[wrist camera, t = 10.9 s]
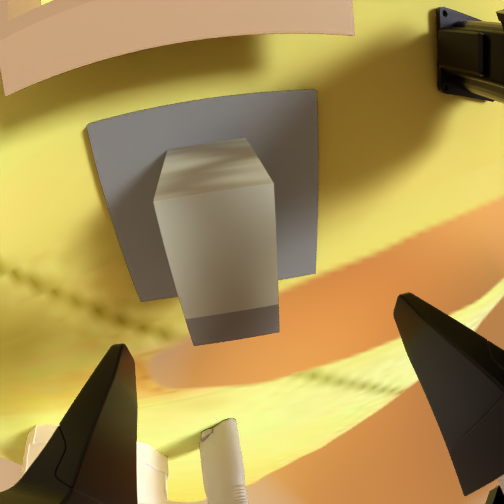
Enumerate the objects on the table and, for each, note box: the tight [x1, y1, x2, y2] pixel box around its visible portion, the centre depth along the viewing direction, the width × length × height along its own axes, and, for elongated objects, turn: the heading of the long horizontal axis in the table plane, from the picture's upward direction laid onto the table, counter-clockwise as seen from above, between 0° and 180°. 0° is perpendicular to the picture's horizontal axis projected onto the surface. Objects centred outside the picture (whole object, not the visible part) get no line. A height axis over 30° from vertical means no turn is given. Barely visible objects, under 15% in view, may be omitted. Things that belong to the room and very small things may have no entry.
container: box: [20, 424, 168, 504], centre depth 33 cm, size 25×24×16 cm
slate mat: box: [86, 89, 318, 302], centre depth 20 cm, size 13×13×1 cm
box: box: [153, 138, 279, 346], centre depth 17 cm, size 4×8×7 cm, turn 5°
